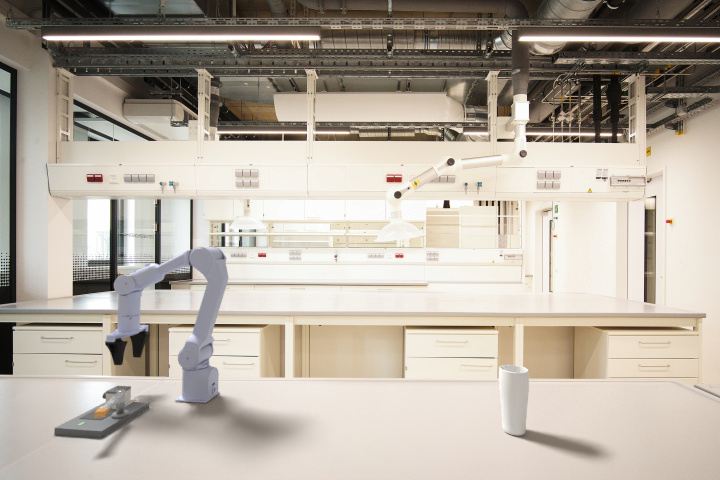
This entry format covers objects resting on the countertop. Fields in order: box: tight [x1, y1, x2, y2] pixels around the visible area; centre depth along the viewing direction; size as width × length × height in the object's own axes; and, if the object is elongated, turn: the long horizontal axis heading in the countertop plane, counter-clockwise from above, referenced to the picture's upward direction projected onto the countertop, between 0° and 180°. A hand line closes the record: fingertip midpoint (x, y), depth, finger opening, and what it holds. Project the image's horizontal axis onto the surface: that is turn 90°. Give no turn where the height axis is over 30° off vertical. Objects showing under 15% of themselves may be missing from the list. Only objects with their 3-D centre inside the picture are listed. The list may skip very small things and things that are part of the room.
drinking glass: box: [498, 364, 530, 437], centre depth 89 cm, size 7×7×15 cm
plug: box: [102, 385, 132, 407], centre depth 100 cm, size 6×4×4 cm, turn 83°
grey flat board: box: [53, 399, 150, 439], centre depth 94 cm, size 12×17×2 cm
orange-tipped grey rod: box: [95, 389, 125, 418], centre depth 87 cm, size 14×2×5 cm, turn 15°
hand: (128, 360), depth 110 cm, fingers open, 7 cm apart
